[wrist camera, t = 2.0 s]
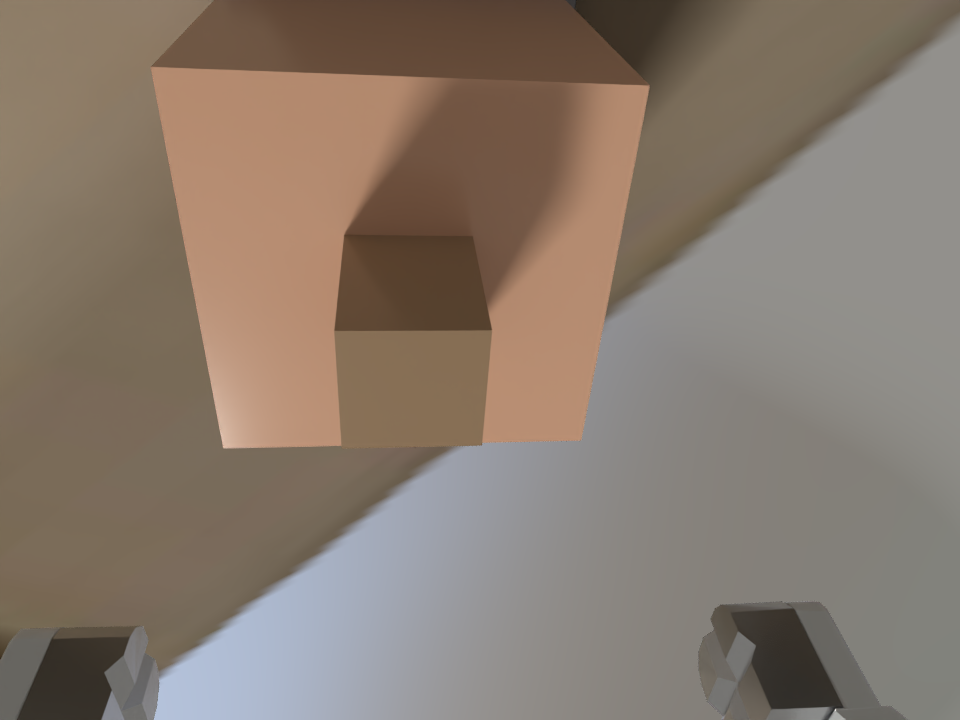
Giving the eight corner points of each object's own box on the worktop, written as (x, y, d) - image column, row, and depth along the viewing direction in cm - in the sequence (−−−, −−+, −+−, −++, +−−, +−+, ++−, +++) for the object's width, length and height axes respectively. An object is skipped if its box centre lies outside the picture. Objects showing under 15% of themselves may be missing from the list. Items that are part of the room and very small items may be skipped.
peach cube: (271, 261, 29) (193, 565, 17) (239, -26, 23) (83, 137, 11) (525, 263, 30) (614, 548, 18) (556, -10, 24) (717, 154, 13)
